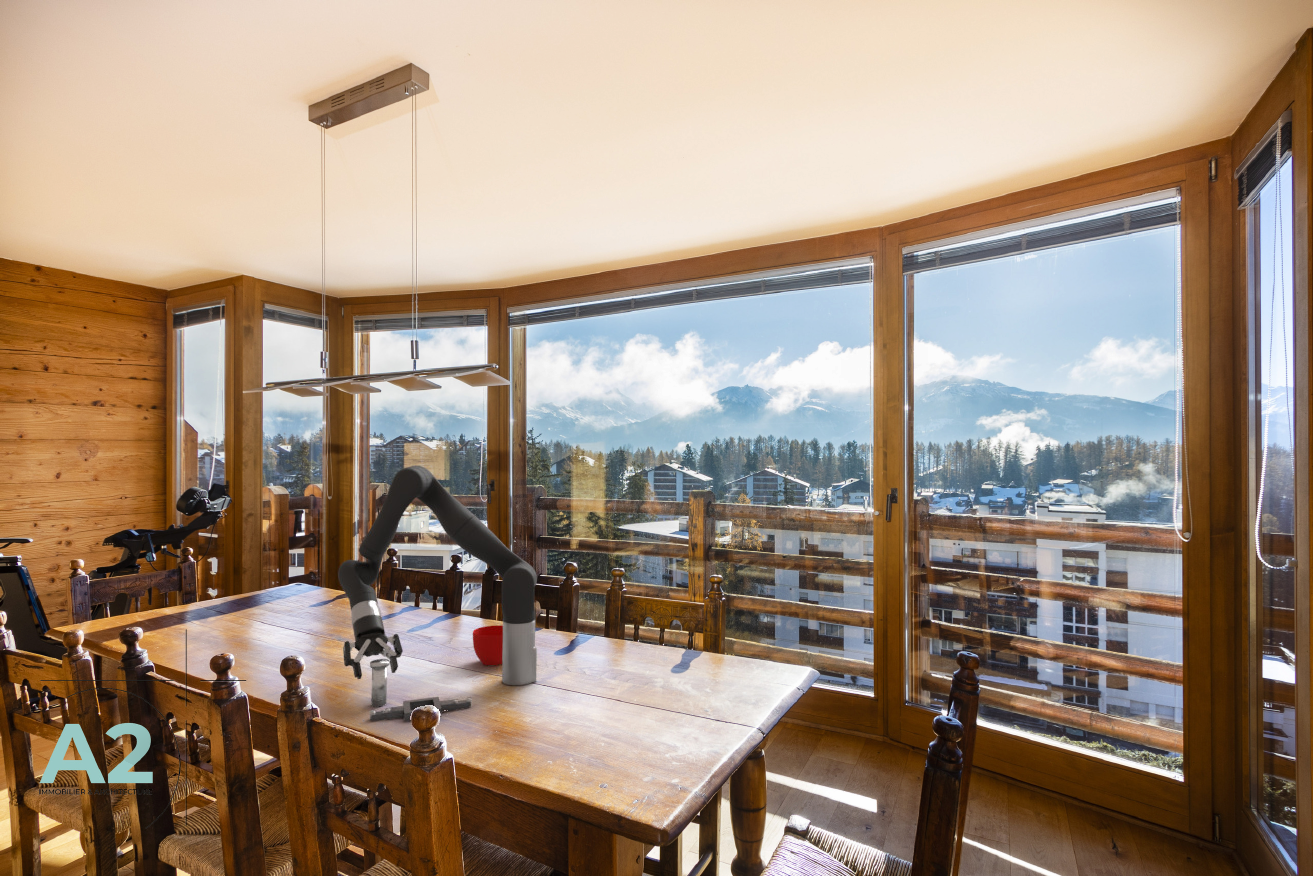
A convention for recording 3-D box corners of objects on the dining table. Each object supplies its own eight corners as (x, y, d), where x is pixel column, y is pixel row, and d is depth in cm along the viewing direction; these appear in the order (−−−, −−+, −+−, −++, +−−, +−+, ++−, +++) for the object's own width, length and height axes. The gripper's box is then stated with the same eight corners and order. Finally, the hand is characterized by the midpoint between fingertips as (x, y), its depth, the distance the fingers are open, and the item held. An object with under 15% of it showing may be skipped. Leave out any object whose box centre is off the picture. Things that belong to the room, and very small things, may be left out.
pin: (388, 700, 170) (389, 658, 171) (388, 706, 166) (389, 663, 166) (369, 702, 168) (370, 660, 169) (368, 709, 164) (369, 665, 165)
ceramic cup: (498, 674, 191) (499, 640, 192) (463, 663, 202) (464, 631, 202) (531, 664, 202) (532, 631, 202) (496, 654, 212) (497, 623, 212)
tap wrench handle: (469, 700, 170) (469, 692, 171) (473, 712, 163) (473, 703, 163) (369, 713, 161) (370, 705, 161) (369, 726, 153) (369, 717, 153)
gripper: (341, 617, 172) (350, 672, 163) (397, 610, 181) (408, 662, 171) (336, 633, 176) (345, 687, 167) (391, 625, 185) (402, 676, 175)
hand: (377, 674), depth 169 cm, fingers open, 8 cm apart
